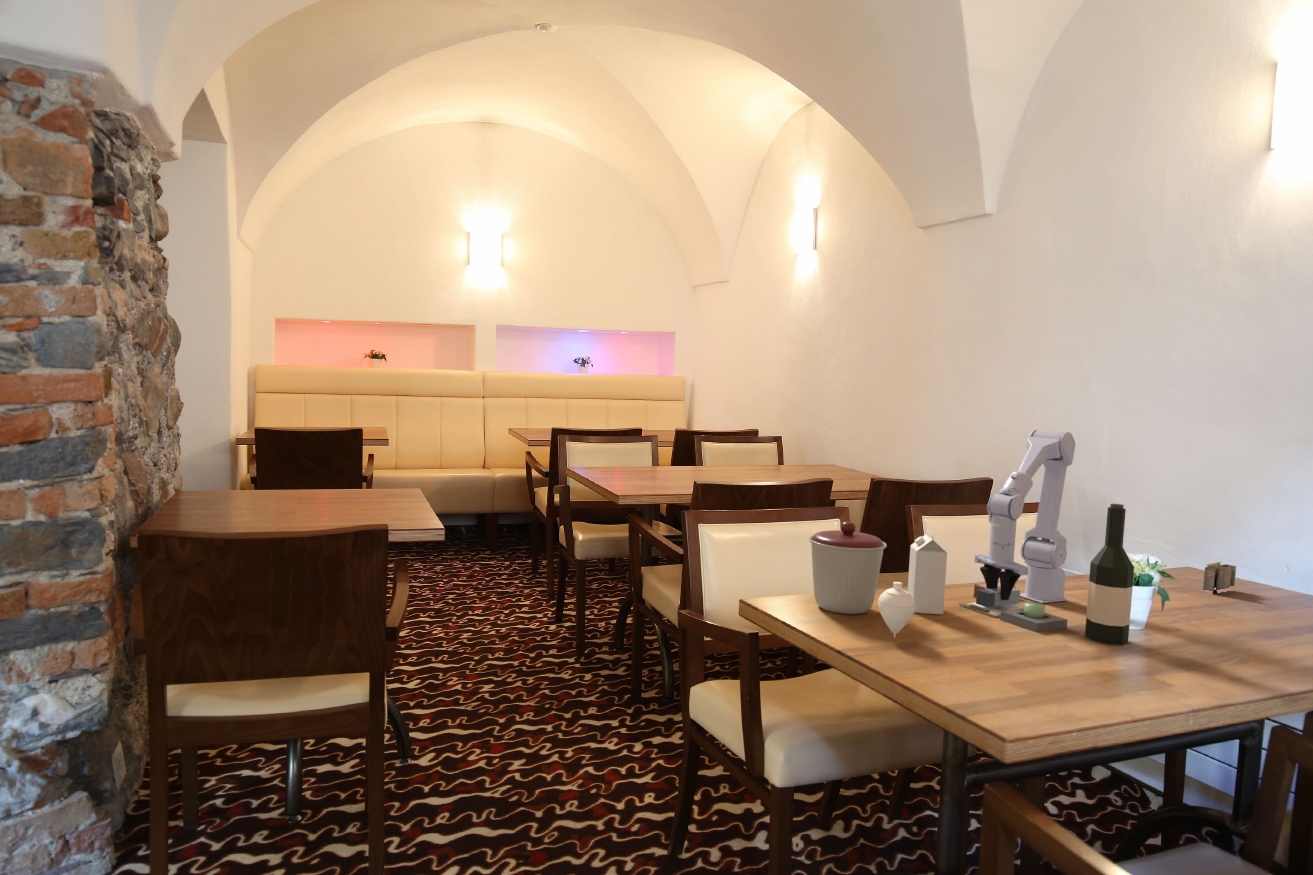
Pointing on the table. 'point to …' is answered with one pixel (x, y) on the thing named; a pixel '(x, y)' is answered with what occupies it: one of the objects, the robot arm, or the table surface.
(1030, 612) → the button
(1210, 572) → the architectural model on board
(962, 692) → the table surface
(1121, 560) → the wine bottle
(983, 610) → the tan flat tray
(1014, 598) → the grey rectangular bar
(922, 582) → the milk carton
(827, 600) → the canister
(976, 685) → the table surface
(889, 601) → the spinning top
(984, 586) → the block
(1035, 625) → the button housing
